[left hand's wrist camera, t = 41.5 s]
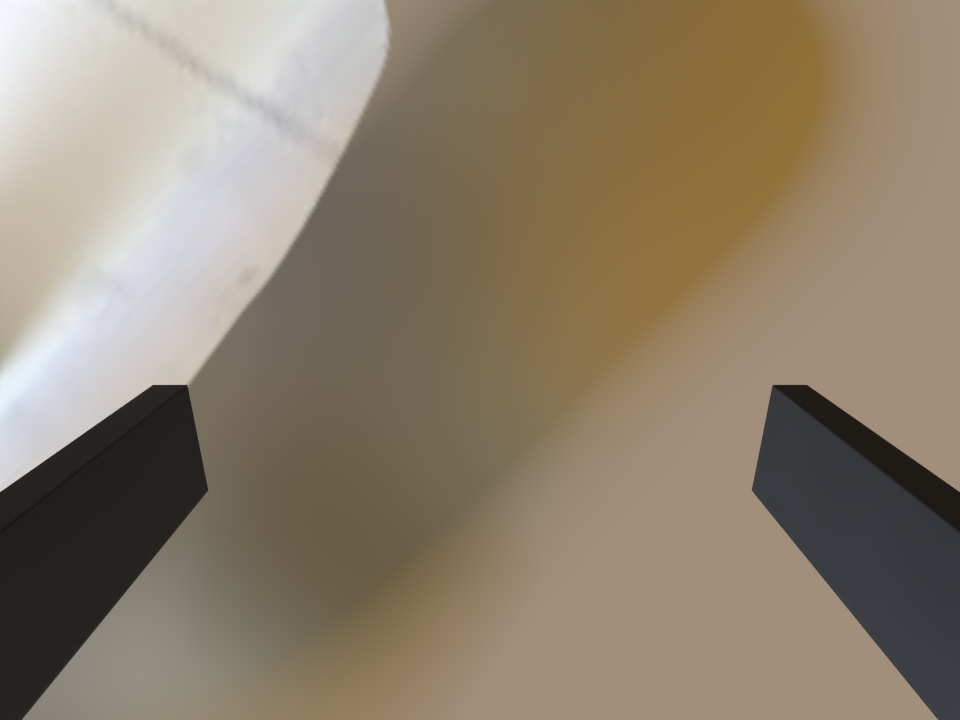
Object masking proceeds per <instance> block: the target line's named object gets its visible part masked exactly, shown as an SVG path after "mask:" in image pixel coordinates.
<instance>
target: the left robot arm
mask: <svg viewBox="0 0 960 720" xmlns="http://www.w3.org/2000/svg"><path fill="white" fill-rule="evenodd" d="M207 491H208V487H207V482H206V477H205V472H204V467H203V462H202V457H201V452H200V447H199V442H198V437H197V432H196V427H195V422H194V417H193V412H192V407H191V402H190V396H189V391H188V386H187V385H152V386H151V387H150V388H148V389H147V390H145V391H144V392H142V393H141V394H140V395H138V396H137V397H135V398H134V399H132V400H131V401H130V402H128V403H127V404H125V405H124V406H123V407H121V408H120V409H118V410H117V411H115V412H114V413H113V414H111V415H110V416H108V417H107V418H105V419H104V420H103V421H101V422H100V423H98V424H97V425H95V426H94V427H93V428H91V429H90V430H88V431H87V432H85V433H84V434H83V435H81V436H80V437H78V438H77V439H75V440H74V441H73V442H71V443H70V444H68V445H67V446H65V447H64V448H63V449H61V450H60V451H58V452H57V453H55V454H54V455H53V456H51V457H50V458H48V459H47V460H45V461H44V462H43V463H41V464H40V465H38V466H37V467H35V468H34V469H33V470H31V471H30V472H28V473H27V474H25V475H24V476H23V477H21V478H20V479H18V480H17V481H16V482H14V483H13V484H11V485H10V486H8V487H7V488H6V489H4V490H3V491H1V492H0V720H22V719H23V718H24V716H25V715H26V714H27V713H28V711H29V710H30V709H31V708H32V707H33V705H34V704H35V703H36V702H37V700H38V699H39V698H40V697H41V695H42V694H43V693H44V692H45V691H46V689H47V688H48V687H49V686H50V684H51V683H52V682H53V681H54V679H55V678H56V677H57V676H58V675H59V673H60V672H61V671H62V670H63V668H64V667H65V666H66V665H67V663H68V662H69V661H70V660H71V659H72V657H73V656H74V655H75V654H76V652H77V651H78V650H79V649H80V647H81V646H82V645H83V644H84V642H85V641H86V640H87V639H88V638H89V636H90V635H91V634H92V633H93V631H94V630H95V629H96V628H97V627H98V625H99V624H100V623H101V622H102V620H103V619H104V618H105V617H106V615H107V614H108V613H109V612H110V611H111V609H112V608H113V607H114V606H115V604H116V603H117V602H118V601H119V600H120V598H121V597H122V596H123V595H124V593H125V592H126V591H127V590H128V588H129V587H130V586H131V585H132V584H133V582H134V581H135V580H136V579H137V577H138V576H139V575H140V574H141V572H142V571H143V570H144V569H145V568H146V566H147V565H148V564H149V563H150V561H151V560H152V559H153V558H154V556H155V555H156V554H157V553H158V552H159V550H160V549H161V548H162V547H163V545H164V544H165V543H166V542H167V540H168V539H169V538H170V537H171V535H172V534H173V533H174V532H175V531H176V529H177V528H178V527H179V526H180V524H181V523H182V522H183V521H184V520H185V518H186V517H187V516H188V515H189V513H190V512H191V511H192V510H193V508H194V507H195V506H196V505H197V504H198V502H199V501H200V500H201V499H202V497H203V496H204V495H205V494H206V492H207ZM752 491H753V492H754V494H755V495H756V496H757V497H758V499H759V500H760V501H761V502H762V504H763V505H764V506H765V507H766V508H767V510H768V511H769V512H770V513H771V515H772V516H773V517H774V518H775V520H776V521H777V522H778V523H779V524H780V526H781V527H782V528H783V529H784V531H785V532H786V533H787V534H788V535H789V537H790V538H791V539H792V540H793V542H794V543H795V544H796V545H797V547H798V548H799V549H800V550H801V551H802V553H803V554H804V555H805V556H806V558H807V559H808V560H809V561H810V563H811V564H812V565H813V566H814V567H815V569H816V570H817V571H818V572H819V574H820V575H821V576H822V577H823V579H824V580H825V581H826V582H827V583H828V585H829V586H830V587H831V588H832V590H833V591H834V592H835V593H836V595H837V596H838V597H839V598H840V600H841V601H842V602H843V603H844V604H845V606H846V607H847V608H848V609H849V611H850V612H851V613H852V614H853V615H854V617H855V618H856V619H857V620H858V622H859V623H860V624H861V625H862V627H863V628H864V629H865V630H866V631H867V633H868V634H869V635H870V636H871V638H872V639H873V640H874V641H875V643H876V644H877V645H878V646H879V647H880V649H881V650H882V651H883V652H884V654H885V655H886V656H887V657H888V659H889V660H890V661H891V662H892V663H893V665H894V666H895V667H896V668H897V670H898V671H899V672H900V673H901V675H902V676H903V677H904V678H905V679H906V681H907V682H908V683H909V684H910V686H911V687H912V688H913V689H914V691H915V692H916V693H917V694H918V695H919V697H920V698H921V699H922V700H923V702H924V703H925V704H926V705H927V707H928V708H929V709H930V710H931V711H932V713H933V714H934V715H935V716H936V718H937V719H938V720H960V492H959V491H957V490H956V489H954V488H953V487H952V486H950V485H949V484H947V483H946V482H944V481H943V480H942V479H940V478H939V477H937V476H936V475H934V474H933V473H932V472H930V471H929V470H927V469H926V468H925V467H923V466H922V465H920V464H919V463H917V462H916V461H915V460H913V459H912V458H910V457H909V456H907V455H906V454H905V453H903V452H902V451H900V450H899V449H897V448H896V447H895V446H893V445H892V444H890V443H889V442H887V441H886V440H885V439H883V438H882V437H880V436H879V435H877V434H876V433H874V432H873V431H872V430H870V429H869V428H867V427H866V426H865V425H863V424H862V423H860V422H859V421H857V420H856V419H855V418H853V417H852V416H850V415H849V414H847V413H846V412H845V411H843V410H842V409H840V408H839V407H837V406H836V405H835V404H833V403H832V402H830V401H829V400H827V399H826V398H825V397H823V396H822V395H820V394H819V393H818V392H816V391H815V390H813V389H812V388H810V387H809V386H808V385H773V386H772V391H771V396H770V401H769V407H768V412H767V417H766V422H765V427H764V432H763V437H762V442H761V447H760V452H759V457H758V462H757V467H756V472H755V477H754V482H753V487H752Z"/></svg>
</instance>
